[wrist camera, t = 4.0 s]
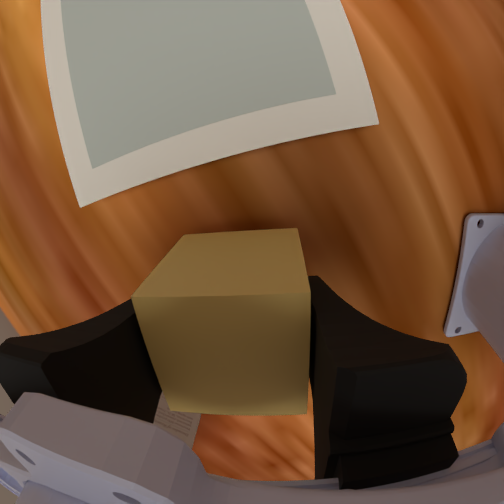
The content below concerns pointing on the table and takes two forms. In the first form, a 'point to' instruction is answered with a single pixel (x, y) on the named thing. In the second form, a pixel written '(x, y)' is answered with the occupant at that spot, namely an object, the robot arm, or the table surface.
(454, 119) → the table surface
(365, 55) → the table surface
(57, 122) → the base
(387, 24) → the table surface
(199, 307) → the block
